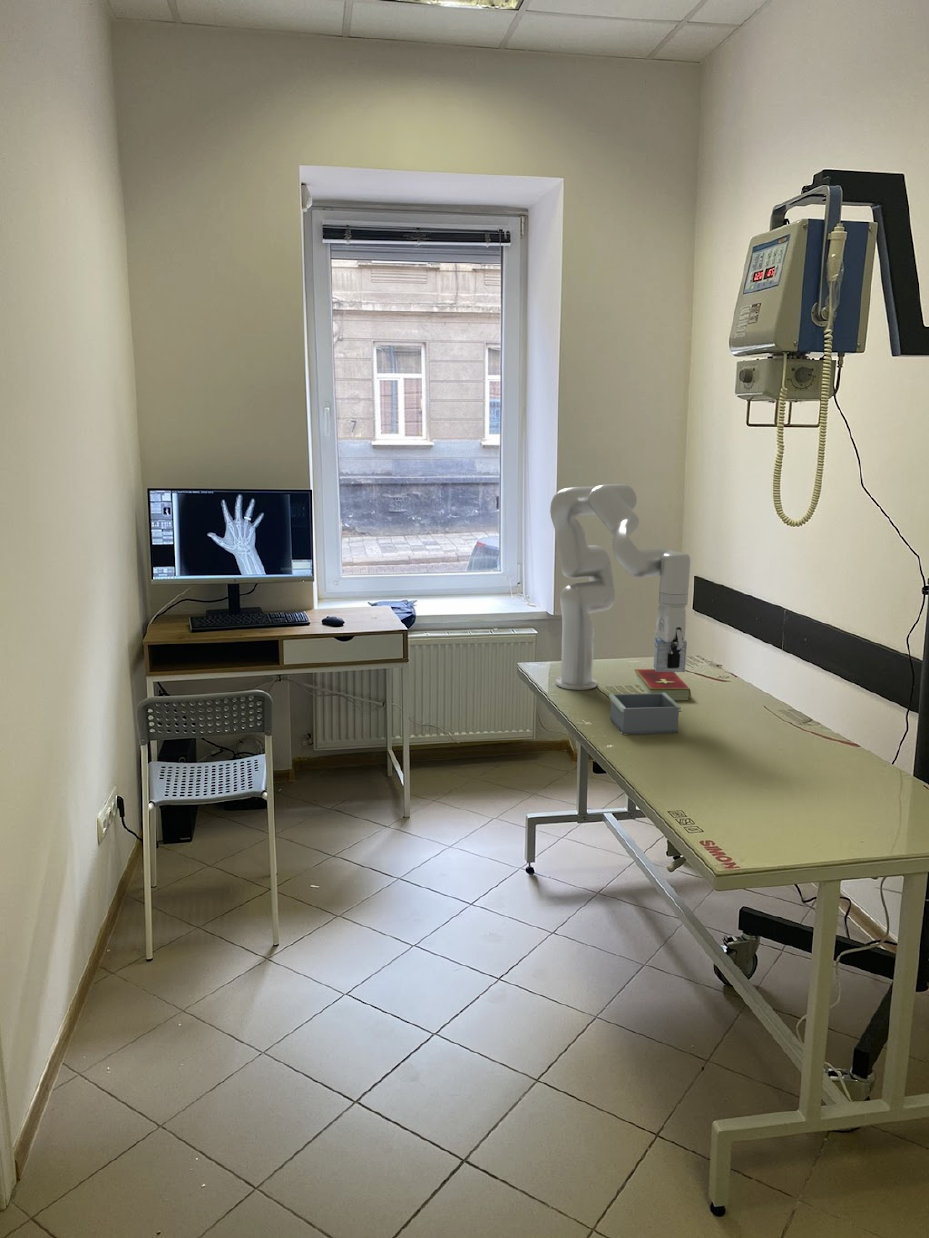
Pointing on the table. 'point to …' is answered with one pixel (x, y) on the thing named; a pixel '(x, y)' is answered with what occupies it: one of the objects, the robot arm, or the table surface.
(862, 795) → the table surface
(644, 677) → the hardcover book
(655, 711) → the bin
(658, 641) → the medicine box
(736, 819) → the table surface
